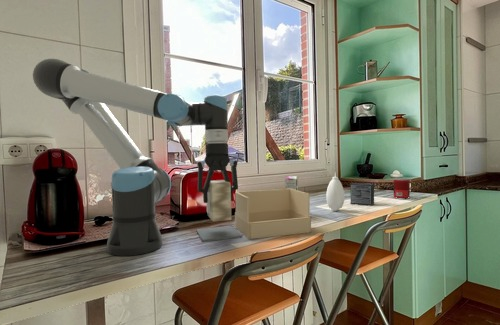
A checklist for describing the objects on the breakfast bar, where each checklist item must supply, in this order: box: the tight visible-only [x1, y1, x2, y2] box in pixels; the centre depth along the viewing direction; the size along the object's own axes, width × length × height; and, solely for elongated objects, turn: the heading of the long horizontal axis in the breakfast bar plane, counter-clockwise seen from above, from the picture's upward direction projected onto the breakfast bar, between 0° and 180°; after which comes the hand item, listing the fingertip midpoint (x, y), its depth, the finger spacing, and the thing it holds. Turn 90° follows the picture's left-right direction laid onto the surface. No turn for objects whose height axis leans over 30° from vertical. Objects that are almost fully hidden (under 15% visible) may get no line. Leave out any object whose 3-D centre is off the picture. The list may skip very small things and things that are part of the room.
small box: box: [350, 182, 375, 206], centre depth 151 cm, size 11×6×10 cm, turn 58°
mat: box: [196, 225, 243, 243], centre depth 101 cm, size 13×13×1 cm
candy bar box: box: [285, 175, 299, 191], centre depth 128 cm, size 11×5×16 cm, turn 168°
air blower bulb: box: [325, 171, 346, 212], centre depth 136 cm, size 8×8×18 cm
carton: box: [234, 188, 312, 240], centre depth 106 cm, size 23×16×13 cm
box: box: [206, 179, 232, 222], centre depth 100 cm, size 6×10×12 cm, turn 18°
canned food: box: [393, 177, 411, 199], centre depth 168 cm, size 8×8×11 cm
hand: (218, 211), depth 101 cm, fingers closed on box, 6 cm apart
